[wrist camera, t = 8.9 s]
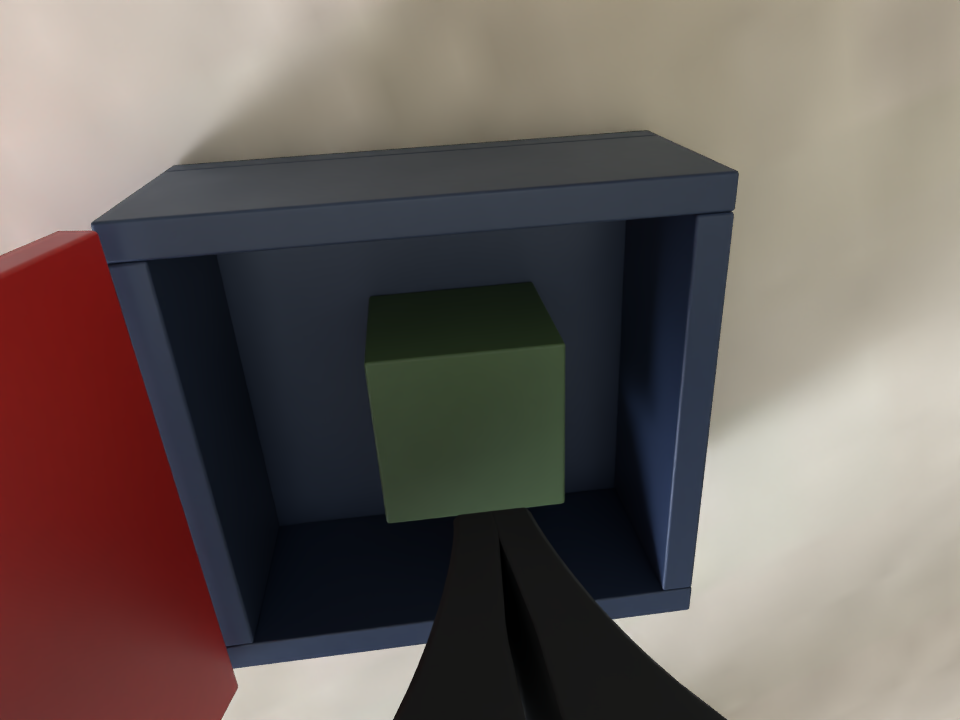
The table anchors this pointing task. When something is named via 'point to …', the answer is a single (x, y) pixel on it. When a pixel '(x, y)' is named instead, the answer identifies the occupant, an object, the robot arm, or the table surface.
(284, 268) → the dark blue open box
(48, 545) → the lid
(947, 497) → the table surface
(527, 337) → the block
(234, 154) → the table surface
